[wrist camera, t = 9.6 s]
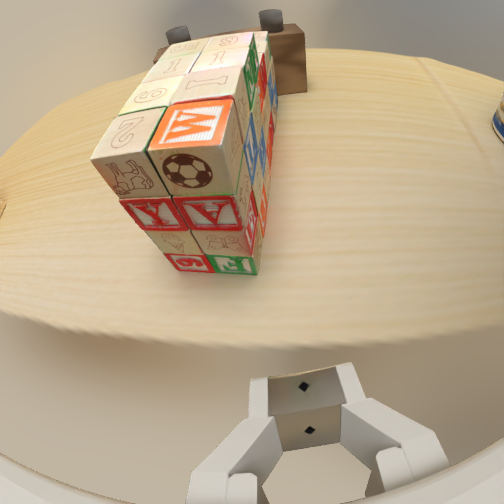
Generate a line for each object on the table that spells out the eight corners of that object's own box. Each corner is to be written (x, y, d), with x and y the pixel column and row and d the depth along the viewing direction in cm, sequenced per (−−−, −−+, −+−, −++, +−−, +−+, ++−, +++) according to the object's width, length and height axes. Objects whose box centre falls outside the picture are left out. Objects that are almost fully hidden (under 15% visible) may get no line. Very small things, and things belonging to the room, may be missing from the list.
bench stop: (299, 77, 32) (293, 6, 23) (306, 91, 30) (302, 13, 21) (177, 99, 33) (152, 33, 24) (174, 115, 31) (146, 43, 22)
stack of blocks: (225, 104, 31) (202, 12, 20) (278, 101, 30) (266, 4, 19) (177, 273, 21) (84, 157, 11) (260, 278, 20) (219, 140, 9)
